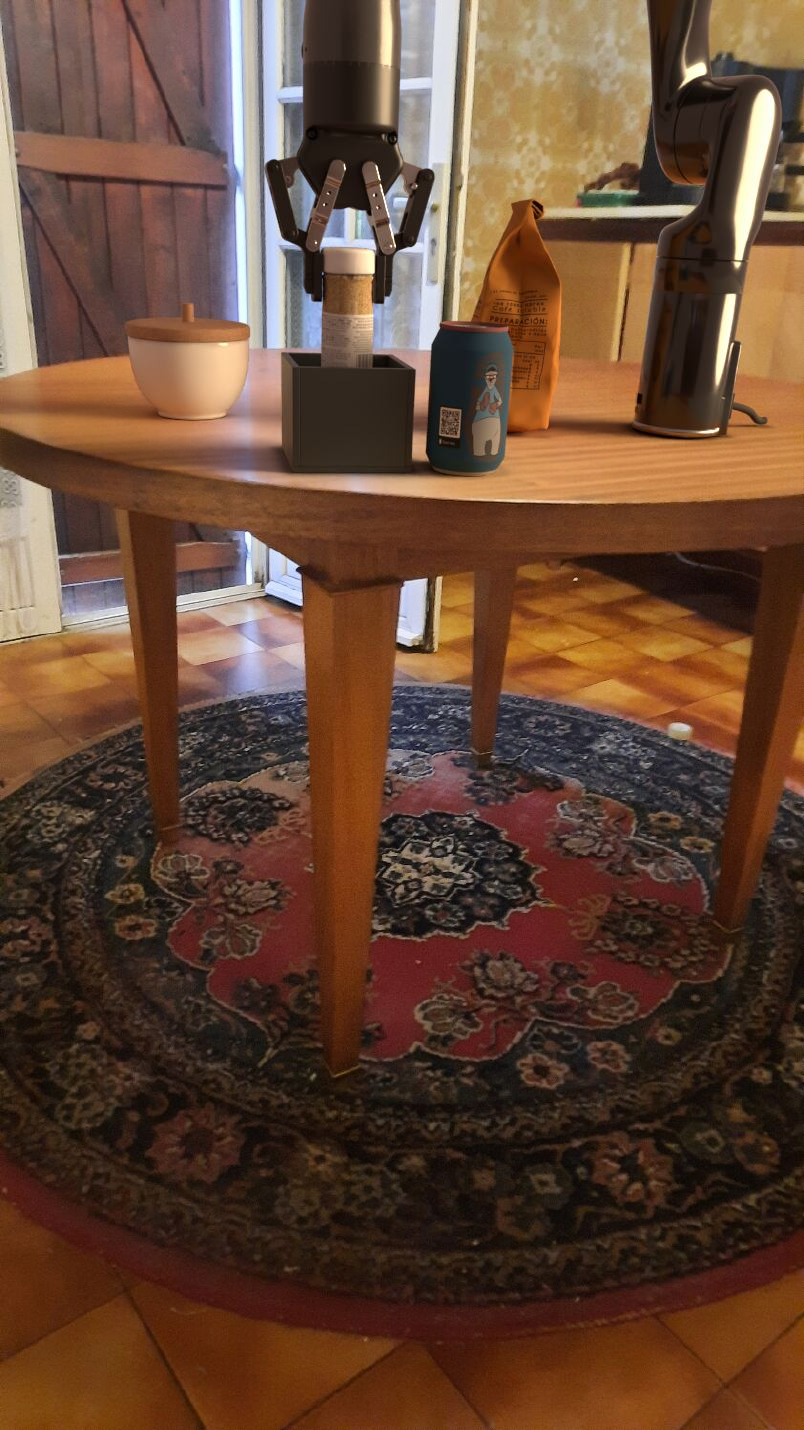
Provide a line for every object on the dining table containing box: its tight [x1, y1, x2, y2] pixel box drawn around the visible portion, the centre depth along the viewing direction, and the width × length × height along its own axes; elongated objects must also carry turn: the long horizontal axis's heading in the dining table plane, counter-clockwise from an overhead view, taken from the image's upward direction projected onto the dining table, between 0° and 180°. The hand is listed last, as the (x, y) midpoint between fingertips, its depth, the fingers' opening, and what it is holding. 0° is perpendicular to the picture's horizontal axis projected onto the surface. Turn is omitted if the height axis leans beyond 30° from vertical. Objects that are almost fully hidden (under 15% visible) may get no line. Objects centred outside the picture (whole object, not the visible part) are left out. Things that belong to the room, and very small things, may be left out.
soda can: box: [425, 320, 514, 477], centre depth 87 cm, size 7×7×12 cm
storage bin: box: [280, 351, 417, 474], centre depth 89 cm, size 10×10×8 cm
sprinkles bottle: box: [320, 246, 376, 368], centre depth 87 cm, size 5×5×13 cm
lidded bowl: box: [124, 302, 251, 421], centre depth 106 cm, size 13×13×11 cm
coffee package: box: [470, 197, 563, 433], centre depth 105 cm, size 10×12×22 cm
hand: (347, 301), depth 85 cm, fingers closed on sprinkles bottle, 4 cm apart
